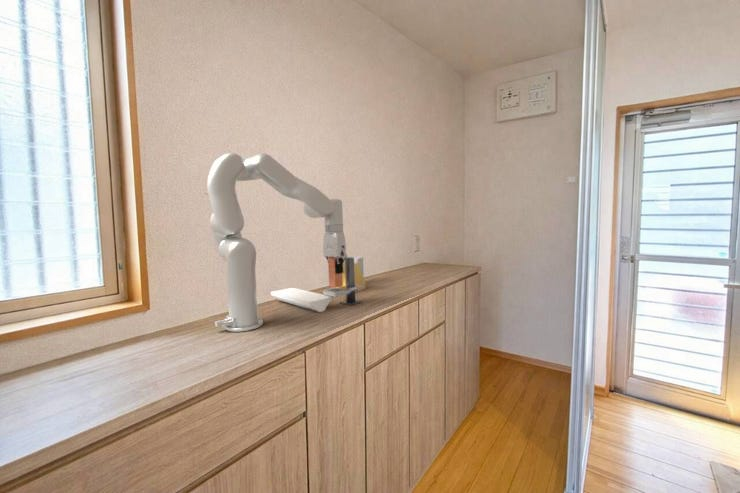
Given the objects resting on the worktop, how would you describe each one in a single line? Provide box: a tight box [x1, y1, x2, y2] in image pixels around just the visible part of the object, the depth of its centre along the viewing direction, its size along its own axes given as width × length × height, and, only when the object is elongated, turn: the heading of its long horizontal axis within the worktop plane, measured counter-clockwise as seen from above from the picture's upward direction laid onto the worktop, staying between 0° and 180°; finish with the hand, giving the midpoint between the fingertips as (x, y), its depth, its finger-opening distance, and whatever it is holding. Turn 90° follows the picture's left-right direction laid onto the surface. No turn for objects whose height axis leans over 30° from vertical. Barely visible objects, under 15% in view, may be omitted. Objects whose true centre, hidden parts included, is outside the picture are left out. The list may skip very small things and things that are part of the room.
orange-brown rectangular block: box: [327, 257, 343, 288], centre depth 142 cm, size 4×4×12 cm
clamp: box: [331, 261, 366, 297], centre depth 172 cm, size 20×9×16 cm, turn 151°
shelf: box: [270, 287, 333, 313], centre depth 147 cm, size 12×30×5 cm, turn 45°
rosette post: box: [322, 256, 363, 307], centre depth 146 cm, size 17×8×20 cm, turn 136°
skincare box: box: [352, 256, 365, 279], centre depth 186 cm, size 8×7×16 cm
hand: (336, 272), depth 142 cm, fingers closed on orange-brown rectangular block, 4 cm apart
